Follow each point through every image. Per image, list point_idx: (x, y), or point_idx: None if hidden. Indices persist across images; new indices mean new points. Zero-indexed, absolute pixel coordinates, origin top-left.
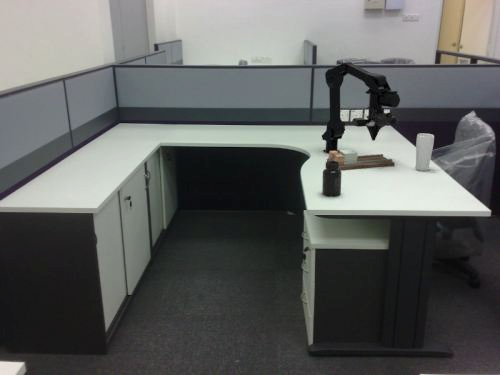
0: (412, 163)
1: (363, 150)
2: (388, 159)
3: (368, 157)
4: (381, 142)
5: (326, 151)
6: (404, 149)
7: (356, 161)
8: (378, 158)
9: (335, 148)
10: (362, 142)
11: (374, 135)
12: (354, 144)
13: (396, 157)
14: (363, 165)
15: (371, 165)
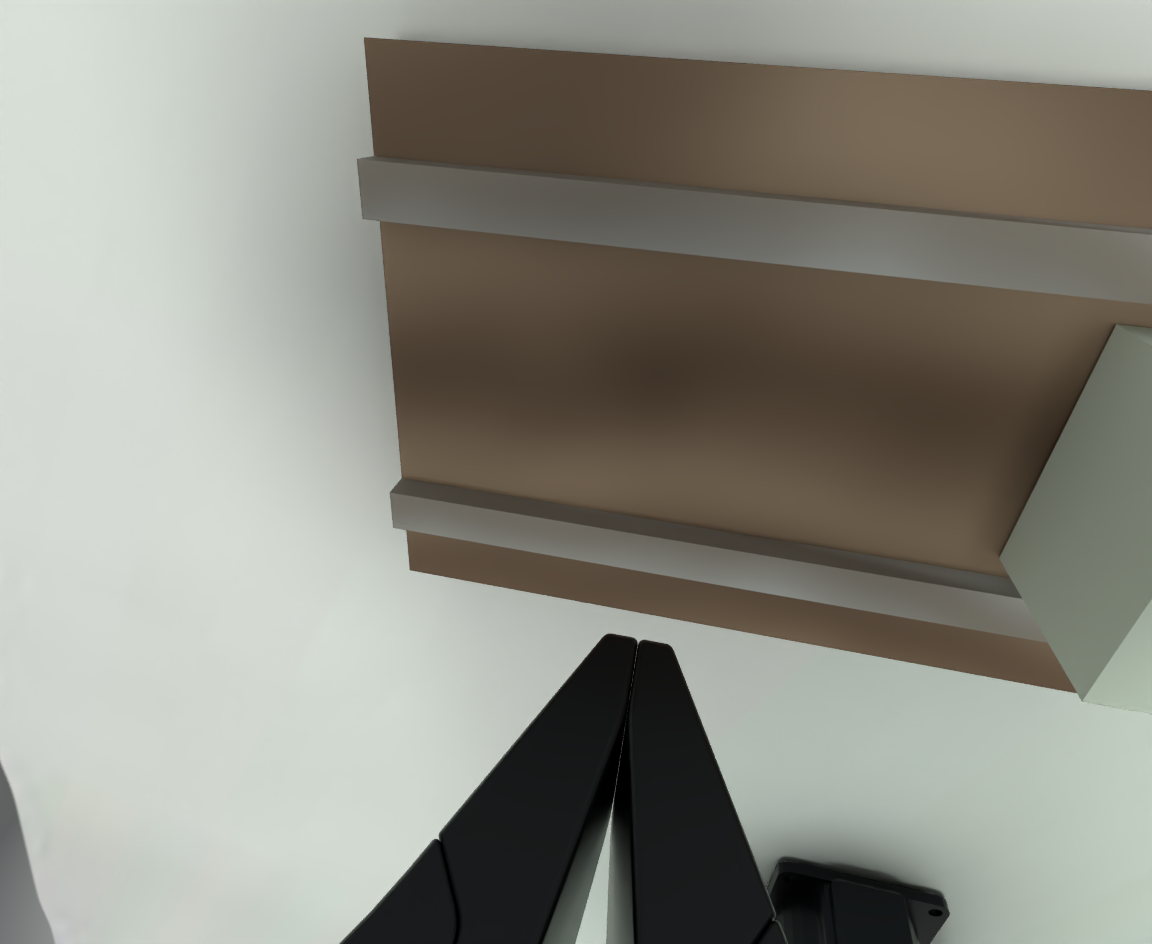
0: (49, 82)
1: None
2: (429, 192)
3: (654, 518)
4: (213, 869)
5: (928, 935)
6: (53, 654)
7: (1149, 333)
8: (529, 410)
9: (864, 933)
10: None
11: (601, 804)
12: None
13: (211, 459)
14: (1145, 91)
15: (918, 75)
